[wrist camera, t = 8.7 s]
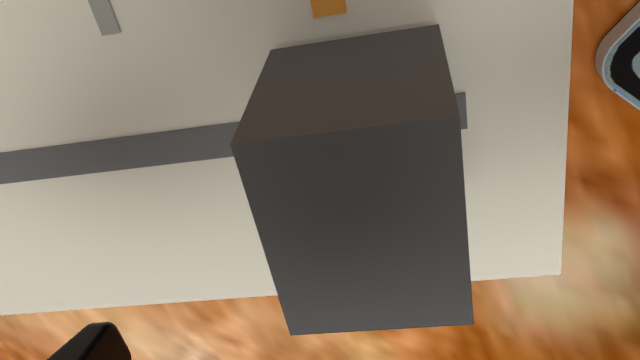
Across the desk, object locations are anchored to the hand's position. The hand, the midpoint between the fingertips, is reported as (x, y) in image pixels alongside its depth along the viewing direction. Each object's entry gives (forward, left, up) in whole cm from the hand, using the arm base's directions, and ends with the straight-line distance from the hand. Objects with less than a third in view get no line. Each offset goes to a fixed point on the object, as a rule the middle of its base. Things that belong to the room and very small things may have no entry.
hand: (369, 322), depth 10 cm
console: (-6, 0, -10) cm, 12 cm away
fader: (0, 0, -7) cm, 7 cm away
